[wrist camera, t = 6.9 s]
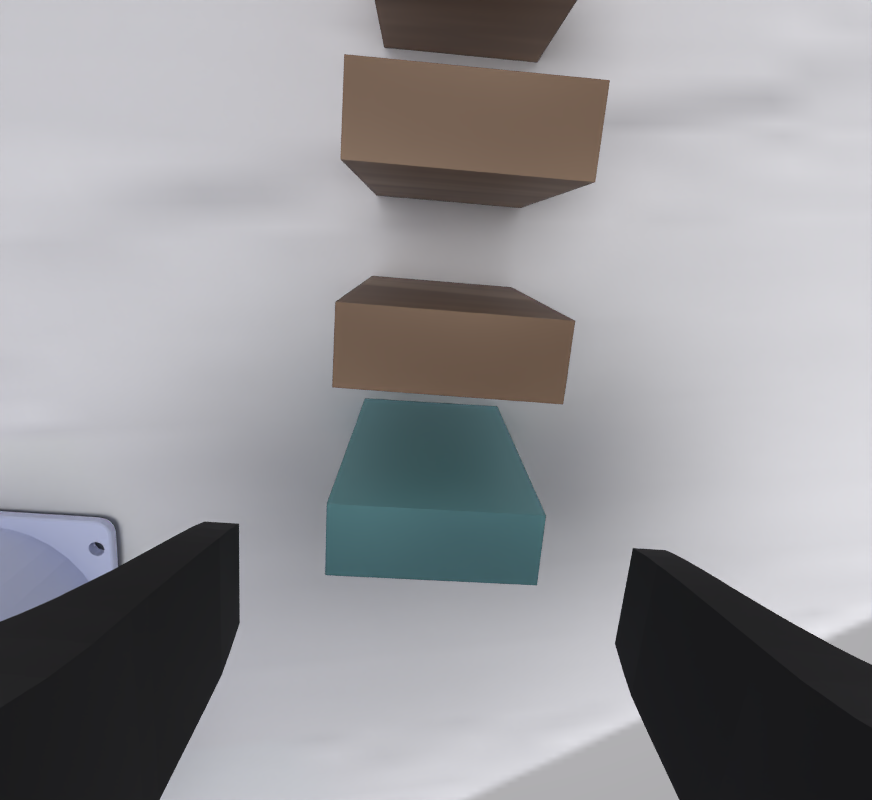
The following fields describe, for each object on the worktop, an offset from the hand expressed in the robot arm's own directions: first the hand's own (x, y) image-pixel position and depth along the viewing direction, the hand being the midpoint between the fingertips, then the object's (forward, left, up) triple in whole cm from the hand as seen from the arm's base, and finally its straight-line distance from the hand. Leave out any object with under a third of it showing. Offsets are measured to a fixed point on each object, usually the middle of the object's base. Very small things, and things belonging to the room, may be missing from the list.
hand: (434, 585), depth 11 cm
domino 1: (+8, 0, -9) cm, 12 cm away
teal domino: (0, 0, -9) cm, 9 cm away
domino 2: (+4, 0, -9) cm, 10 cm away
